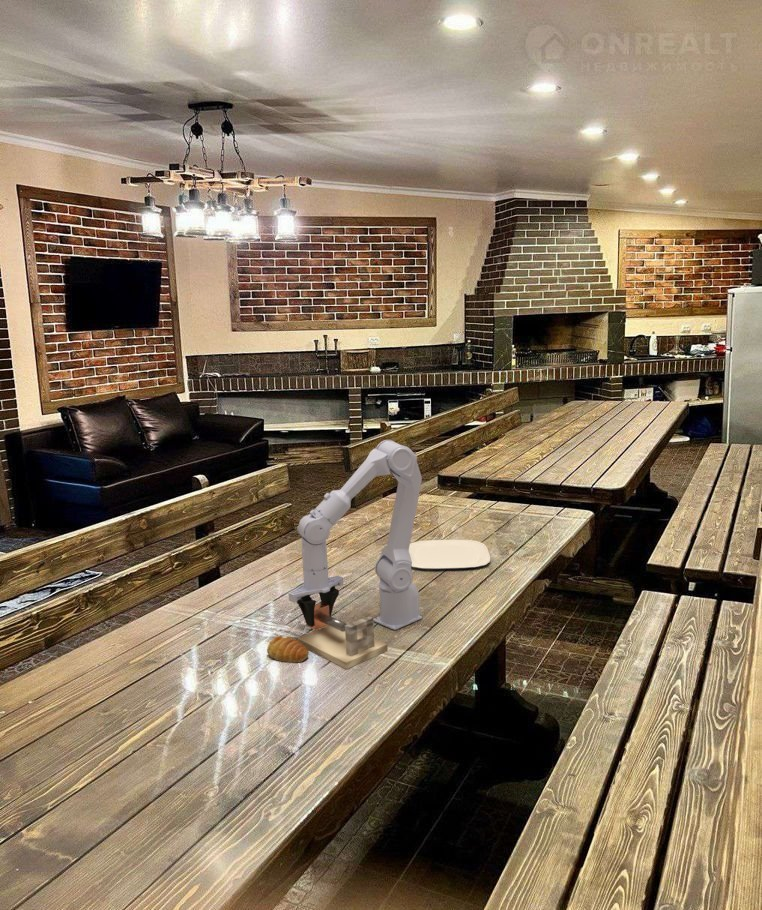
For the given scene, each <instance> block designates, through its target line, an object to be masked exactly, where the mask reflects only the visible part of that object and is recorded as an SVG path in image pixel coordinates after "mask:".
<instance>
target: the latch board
mask: <svg viewBox="0 0 762 910" xmlns="http://www.w3.org/2000/svg"><path fill="white" fill-rule="evenodd" d="M373 619H374V617H371V616H369V615H367V616H365V617H363V618H362V617H361V618H360V619H358V620H355V621H353V622H350V623H348V624H347V625H345V631H343V632H342V631H340V630H338V629H336V628H333V627H331V626H329V625H326V626H324V627H321V628H319V629H316V630H314V631H311V632H308V633H306V634H304V635H301V636H298V637H297V638H296V640H297V641H298V642H301V644H302V645H304V646H305V648H306V649H307V650H308V651H310V652H311V653H314V654H316V655H318V656H320V657H321V658H324V659H326V660H327V661H330V662H332V663H333V664H336V665H337V666H338V667H339V666H340V667H341V668H343V669H345V670H348V669H351V668H352V667H354V666H357V665H359V664H361V663H364V662H365V661H368V660H370V659H372V658H375V657H377V656H379V655H381V654H382V653H385V652H387V651H388V644H387V643H385V642H383V641H381V640H379V639H376V638H375V629H374V624H375V622H374V621H373Z"/></svg>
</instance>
